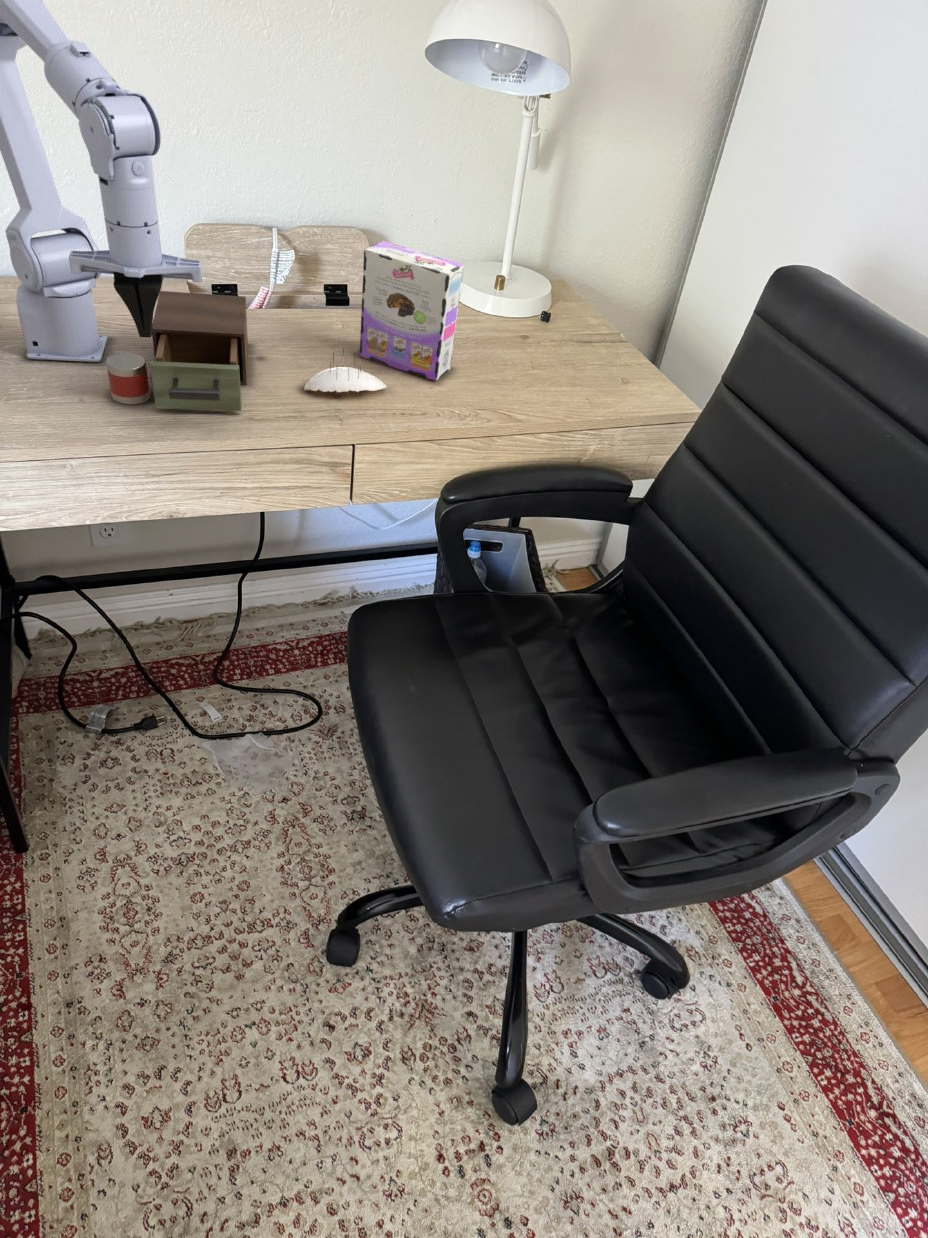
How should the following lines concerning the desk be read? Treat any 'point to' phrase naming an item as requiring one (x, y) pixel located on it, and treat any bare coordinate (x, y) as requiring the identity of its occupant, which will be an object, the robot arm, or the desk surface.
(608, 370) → the desk surface
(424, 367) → the candy box
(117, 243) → the robot arm
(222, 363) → the drawer
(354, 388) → the pincushion
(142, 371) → the can
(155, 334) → the cabinet
